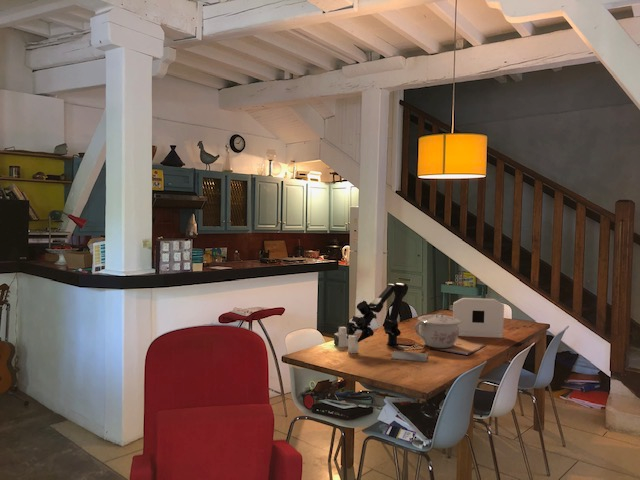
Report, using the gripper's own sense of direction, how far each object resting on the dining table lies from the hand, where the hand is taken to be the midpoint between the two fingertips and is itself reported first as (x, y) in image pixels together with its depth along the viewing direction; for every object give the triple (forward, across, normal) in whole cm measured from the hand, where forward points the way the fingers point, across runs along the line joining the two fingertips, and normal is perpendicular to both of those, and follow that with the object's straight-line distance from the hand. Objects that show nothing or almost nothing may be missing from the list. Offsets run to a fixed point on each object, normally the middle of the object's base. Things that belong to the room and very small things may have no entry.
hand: (352, 340), depth 311 cm
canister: (+5, 0, +6) cm, 7 cm away
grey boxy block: (-70, +10, +80) cm, 107 cm away
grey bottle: (+2, -16, +9) cm, 18 cm away
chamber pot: (-34, +19, +45) cm, 59 cm away
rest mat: (-10, +26, +20) cm, 34 cm away
